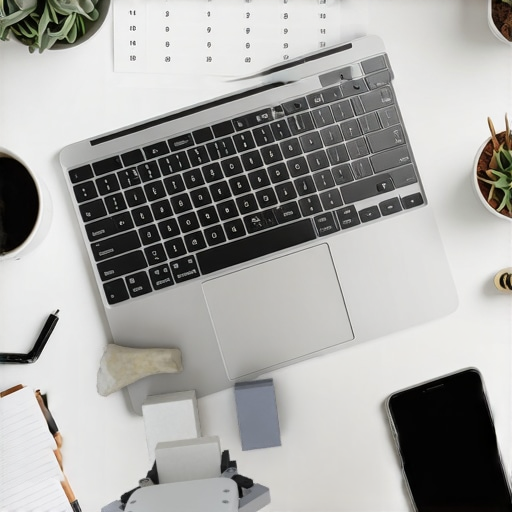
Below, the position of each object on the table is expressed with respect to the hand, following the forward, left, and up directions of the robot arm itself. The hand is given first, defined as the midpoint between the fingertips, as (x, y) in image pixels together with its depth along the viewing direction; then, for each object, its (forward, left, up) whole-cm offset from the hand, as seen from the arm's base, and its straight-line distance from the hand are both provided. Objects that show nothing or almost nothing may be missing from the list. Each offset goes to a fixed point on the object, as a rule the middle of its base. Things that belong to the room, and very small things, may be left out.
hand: (194, 467), depth 59 cm
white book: (0, 0, +1) cm, 1 cm away
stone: (+8, +7, -15) cm, 18 cm away
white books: (0, +4, -15) cm, 15 cm away
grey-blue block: (0, -7, -15) cm, 16 cm away
